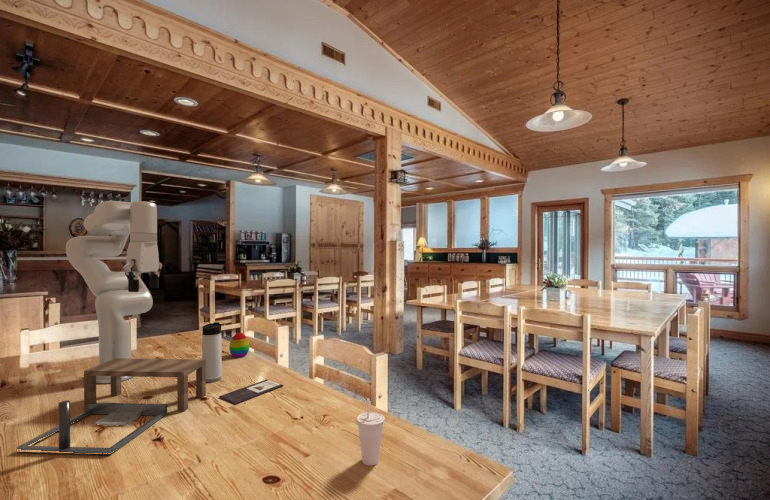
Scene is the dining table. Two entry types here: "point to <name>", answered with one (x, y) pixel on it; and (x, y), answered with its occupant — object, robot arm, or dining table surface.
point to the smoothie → (370, 435)
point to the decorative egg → (239, 345)
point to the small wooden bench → (147, 369)
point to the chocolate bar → (250, 391)
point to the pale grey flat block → (119, 418)
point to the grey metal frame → (95, 408)
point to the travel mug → (212, 351)
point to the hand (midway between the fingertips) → (144, 290)
